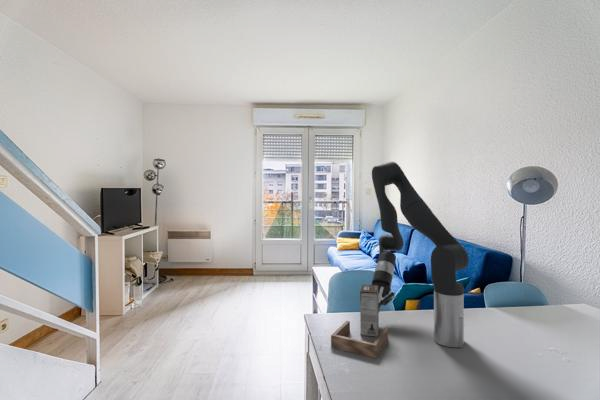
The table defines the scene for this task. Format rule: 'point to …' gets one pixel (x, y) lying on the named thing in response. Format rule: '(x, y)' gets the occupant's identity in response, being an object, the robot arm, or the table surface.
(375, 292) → the coffee box
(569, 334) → the table surface
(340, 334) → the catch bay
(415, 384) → the table surface
